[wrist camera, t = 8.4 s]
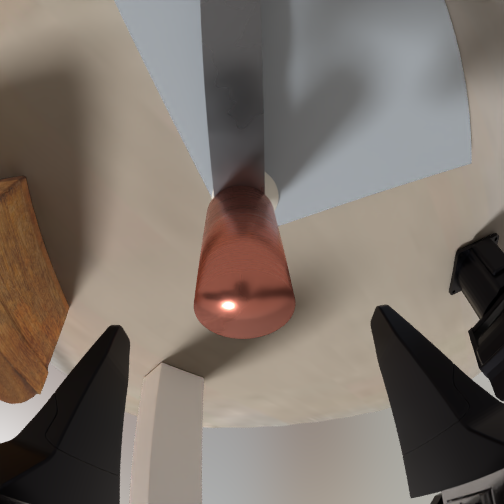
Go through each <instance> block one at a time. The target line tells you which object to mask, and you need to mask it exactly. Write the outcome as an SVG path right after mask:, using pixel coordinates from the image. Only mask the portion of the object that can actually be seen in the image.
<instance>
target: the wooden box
mask: <svg viewBox="0 0 504 504" xmlns="http://www.w3.org/2000/svg"><path fill="white" fill-rule="evenodd" d="M68 310H69V305H68V303H67V301H66V299H65V296H64V294H63V292H62V289H61V287H60V284H59V282H58V279H57V277H56V274H55V272H54V269H53V267H52V264H51V261H50V259H49V256H48V253H47V251H46V248H45V245H44V242H43V239H42V236H41V233H40V229H39V226H38V223H37V219H36V216H35V212H34V209H33V206H32V201H31V197H30V194H29V189H28V184H27V180H26V177H24V176H18V177H12V178H6V179H0V400H1V401H4V402H6V403H11V404H15V403H22V402H25V401H27V400H29V399H30V398H32V397H34V396H35V395H36V394H41V391H42V389H43V386H44V384H45V381H46V378H47V375H48V365H49V363H50V361H51V358H52V355H53V352H54V349H55V346H56V344H57V341H58V338H59V336H60V333H61V330H62V327H63V325H64V322H65V319H66V316H67V313H68Z"/></svg>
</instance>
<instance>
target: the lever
mask: <svg viewBox="0 0 504 504" xmlns="http://www.w3.org/2000/svg"><path fill="white" fill-rule="evenodd" d="M200 10H201V34H202V54H203V71H204V86H205V100H206V113H207V126H208V138H209V149H210V160H211V171H212V181H213V191H214V198H213V199H212V201H211V202H210V204H209V207H208V210H207V216H206V222H205V228H204V234H203V241H202V248H201V254H200V261H199V268H198V276H197V283H196V291H195V299H194V311H195V314H196V317H197V318H198V320H199V321H200V322H201V324H202V325H204V326H205V327H206V328H207V329H209V330H210V331H212V332H214V333H216V334H219V335H222V336H225V337H229V338H237V339H249V338H256V337H261V336H265V335H267V334H270V333H272V332H274V331H276V330H278V329H280V328H281V327H282V326H284V325H285V324H286V323H287V322H288V321H289V319H290V318H291V316H292V315H293V312H294V310H295V297H294V293H293V288H292V284H291V279H290V275H289V271H288V266H287V262H286V258H285V253H284V249H283V245H282V241H281V237H280V233H279V228H278V224H277V220H276V216H275V212H274V208H273V205H272V203H271V201H270V200H269V198H268V197H267V196H266V195H265V162H264V103H263V62H262V29H261V1H260V0H200Z"/></svg>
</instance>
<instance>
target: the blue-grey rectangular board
mask: <svg viewBox="0 0 504 504" xmlns="http://www.w3.org/2000/svg"><path fill="white" fill-rule="evenodd" d="M114 1H115V3H116V5H117V7H118V9H119V12H120V14H121V16H122V18H123V20H124V22H125V24H126V26H127V28H128V30H129V32H130V34H131V37H132V39H133V41H134V43H135V45H136V47H137V49H138V51H139V53H140V55H141V57H142V59H143V61H144V63H145V65H146V67H147V69H148V71H149V73H150V75H151V78H152V80H153V82H154V84H155V86H156V88H157V90H158V92H159V94H160V96H161V98H162V100H163V102H164V104H165V106H166V108H167V110H168V112H169V114H170V116H171V118H172V120H173V122H174V124H175V126H176V128H177V130H178V132H179V134H180V136H181V138H182V140H183V142H184V144H185V146H186V148H187V150H188V152H189V154H190V156H191V158H192V160H193V162H194V164H195V166H196V168H197V169H198V171H199V173H200V175H201V177H202V179H203V181H204V183H205V185H206V187H207V189H208V191H209V193H210V195H211V197H212V199H213V198H214V191H213V181H212V171H211V160H210V149H209V138H208V126H207V113H206V100H205V86H204V71H203V54H202V34H201V10H200V0H114ZM260 1H261V29H262V62H263V103H264V162H265V195H266V196H267V197H268V198H269V200H270V201H271V203H272V205H273V208H274V212H275V216H276V220H277V224H278V226H280V225H283V224H286V223H289V222H292V221H295V220H297V219H300V218H303V217H306V216H309V215H312V214H315V213H318V212H321V211H324V210H327V209H330V208H333V207H336V206H339V205H342V204H345V203H348V202H351V201H354V200H357V199H360V198H363V197H366V196H369V195H372V194H376V193H379V192H382V191H385V190H388V189H391V188H394V187H397V186H400V185H403V184H407V183H410V182H413V181H416V180H419V179H422V178H425V177H429V176H432V175H435V174H438V173H441V172H445V171H448V170H451V169H454V168H458V167H461V166H464V165H467V164H471V130H470V116H469V106H468V98H467V90H466V83H465V77H464V72H463V66H462V61H461V57H460V52H459V48H458V44H457V40H456V36H455V32H454V29H453V25H452V22H451V19H450V15H449V12H448V9H447V6H446V4H445V1H444V0H260Z"/></svg>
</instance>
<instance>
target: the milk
mask: <svg viewBox="0 0 504 504" xmlns="http://www.w3.org/2000/svg"><path fill="white" fill-rule="evenodd" d="M203 390H204V378H203V377H200V376H197V375H194V374H191V373H189V372H186V371H183V370H180V369H178V368H175V367H173V366H170V365H167V364H165V363H160V364H159V365H158V366H157V367H156V368H155V369H153V370H152V371H151V372H150V373H149V374H148V375H147V376H145V377H144V379H143V384H142V390H141V396H140V403H139V410H138V417H137V424H136V432H135V440H134V450H133V459H132V471H131V483H130V500H129V504H202V420H203Z"/></svg>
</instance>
